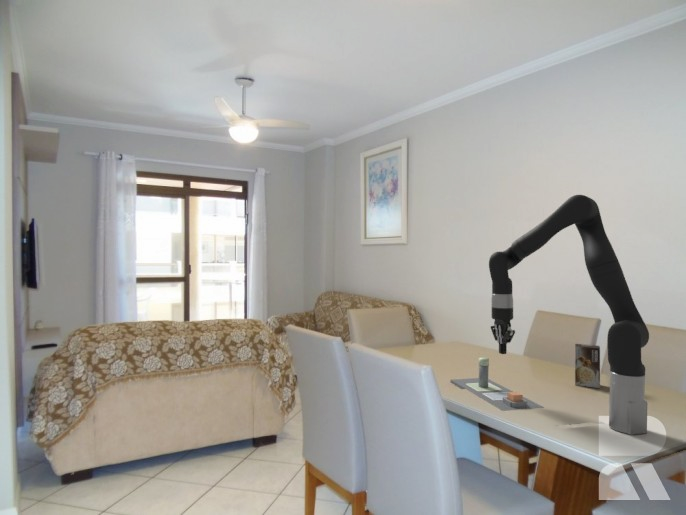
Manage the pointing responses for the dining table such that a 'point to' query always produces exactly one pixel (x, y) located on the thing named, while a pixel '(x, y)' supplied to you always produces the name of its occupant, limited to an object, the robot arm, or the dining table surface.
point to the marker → (483, 372)
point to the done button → (514, 396)
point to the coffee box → (587, 365)
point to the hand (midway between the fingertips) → (502, 353)
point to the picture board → (494, 394)
